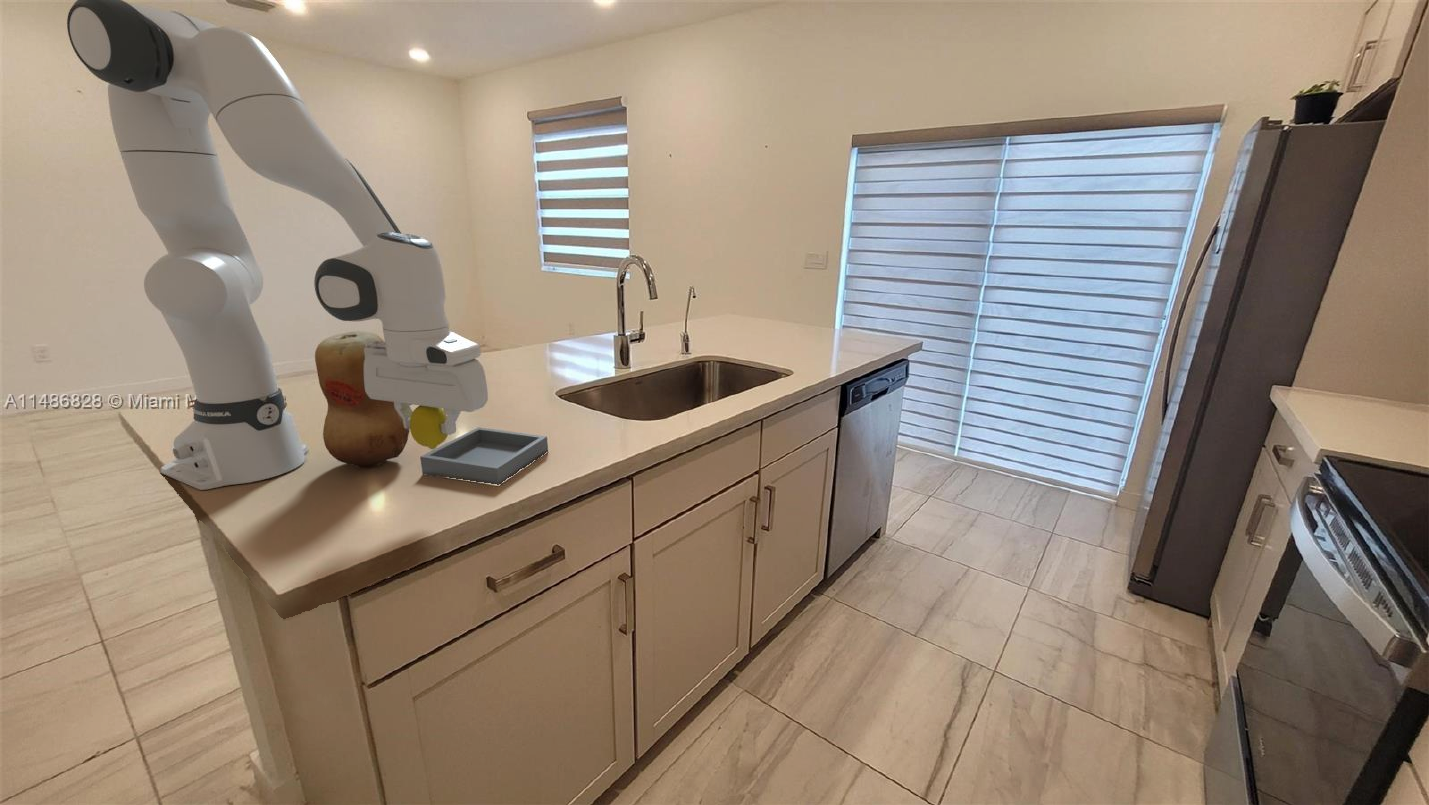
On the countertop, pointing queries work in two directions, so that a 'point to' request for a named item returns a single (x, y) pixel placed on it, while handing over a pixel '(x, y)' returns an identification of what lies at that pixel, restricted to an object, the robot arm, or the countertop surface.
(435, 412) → the lemon
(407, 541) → the countertop surface
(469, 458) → the tray
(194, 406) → the robot arm
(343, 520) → the countertop surface
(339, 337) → the butternut squash
